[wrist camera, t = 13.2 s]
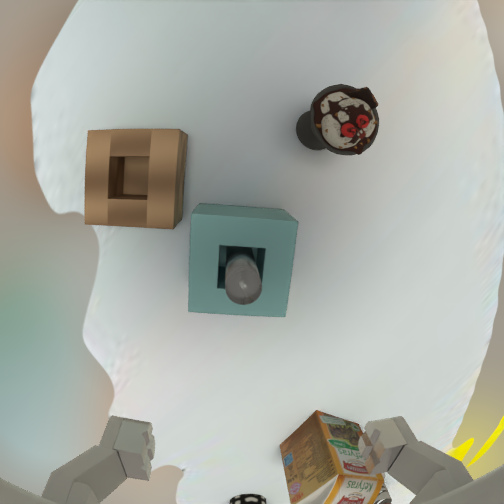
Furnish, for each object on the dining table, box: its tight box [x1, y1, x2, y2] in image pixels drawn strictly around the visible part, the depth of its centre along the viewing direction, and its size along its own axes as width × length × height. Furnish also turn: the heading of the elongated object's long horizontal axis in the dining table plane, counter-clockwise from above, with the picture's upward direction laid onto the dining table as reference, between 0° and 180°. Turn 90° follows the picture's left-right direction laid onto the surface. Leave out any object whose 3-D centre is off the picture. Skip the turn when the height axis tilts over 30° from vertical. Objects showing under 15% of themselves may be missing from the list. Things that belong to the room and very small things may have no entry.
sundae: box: [296, 84, 379, 155], centre depth 27 cm, size 7×7×15 cm
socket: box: [85, 129, 188, 229], centre depth 32 cm, size 10×10×6 cm
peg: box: [225, 246, 262, 305], centre depth 31 cm, size 3×3×12 cm
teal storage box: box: [188, 203, 298, 317], centre depth 34 cm, size 10×10×8 cm
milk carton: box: [280, 410, 384, 504], centre depth 39 cm, size 11×11×19 cm
